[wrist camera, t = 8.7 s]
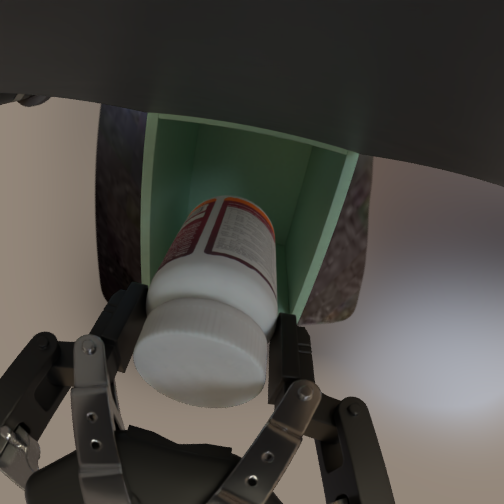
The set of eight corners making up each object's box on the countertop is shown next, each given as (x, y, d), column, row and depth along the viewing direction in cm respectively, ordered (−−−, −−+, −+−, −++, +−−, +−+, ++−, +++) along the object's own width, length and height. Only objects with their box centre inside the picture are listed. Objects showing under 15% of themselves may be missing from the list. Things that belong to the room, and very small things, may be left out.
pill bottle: (192, 272, 21) (146, 405, 12) (179, 194, 18) (94, 314, 8) (275, 272, 21) (276, 416, 11) (275, 191, 18) (282, 324, 8)
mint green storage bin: (289, 248, 36) (296, 327, 24) (181, 227, 35) (142, 296, 24) (324, 124, 28) (361, 147, 16) (197, 99, 27) (148, 105, 15)
